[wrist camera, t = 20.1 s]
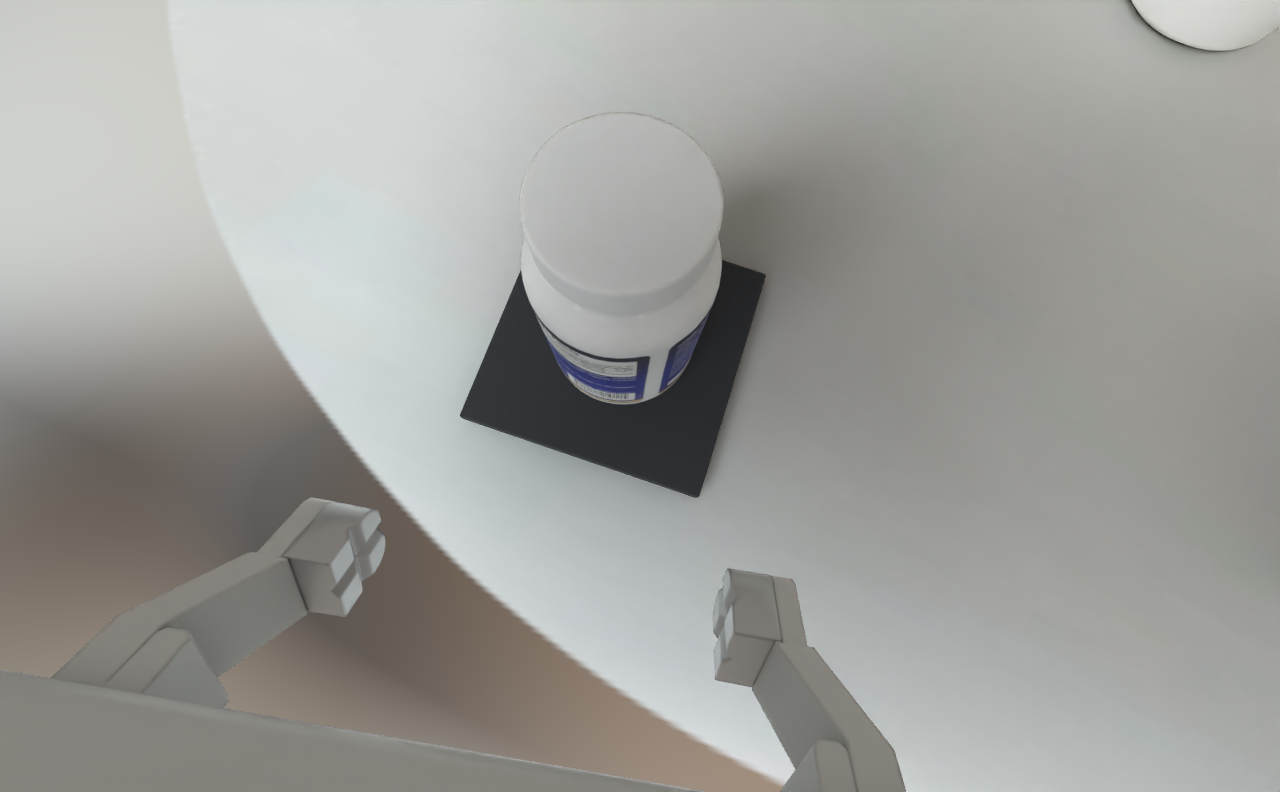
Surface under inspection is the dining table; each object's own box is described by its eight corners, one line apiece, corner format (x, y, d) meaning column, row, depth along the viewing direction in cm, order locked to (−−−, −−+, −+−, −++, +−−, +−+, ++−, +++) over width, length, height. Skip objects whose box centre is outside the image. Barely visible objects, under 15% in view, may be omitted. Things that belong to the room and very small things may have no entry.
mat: (696, 498, 21) (698, 498, 20) (463, 418, 21) (458, 416, 20) (762, 279, 23) (766, 273, 22) (550, 211, 23) (548, 203, 22)
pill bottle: (652, 255, 22) (678, 55, 12) (715, 370, 21) (797, 251, 11) (530, 310, 21) (454, 144, 12) (589, 431, 20) (561, 361, 11)
